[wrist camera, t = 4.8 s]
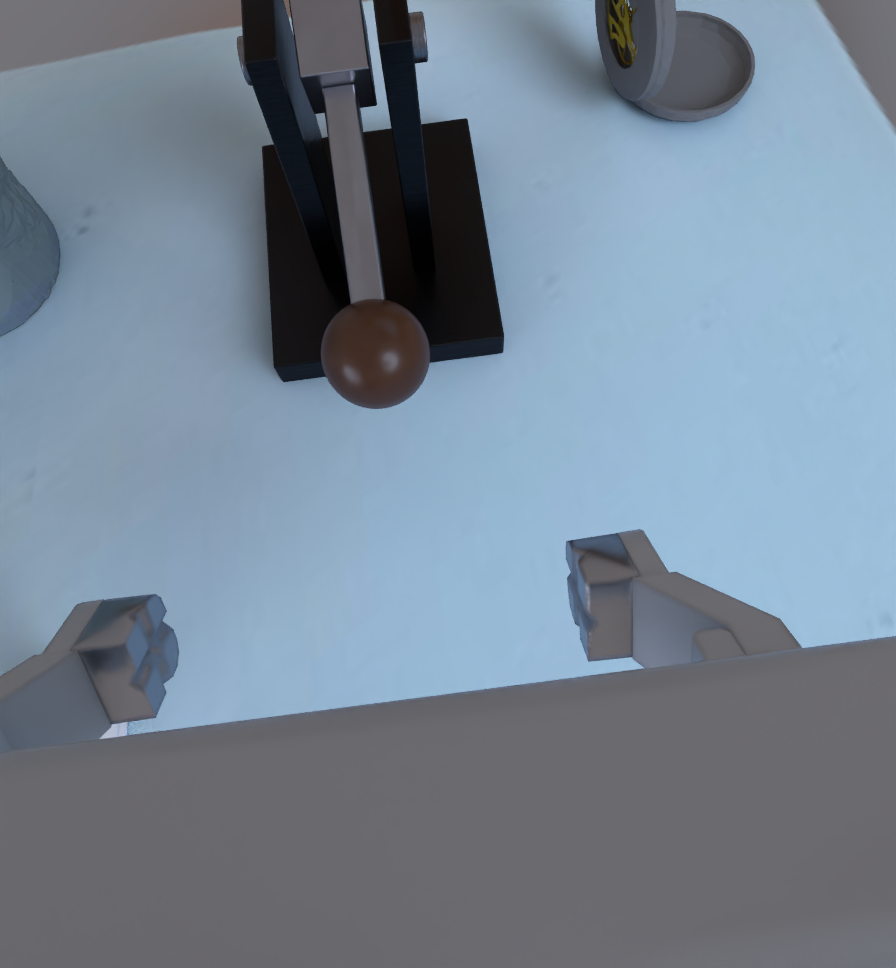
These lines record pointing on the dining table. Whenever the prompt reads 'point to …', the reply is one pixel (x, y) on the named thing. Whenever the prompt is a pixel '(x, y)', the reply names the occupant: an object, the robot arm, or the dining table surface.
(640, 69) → the pocket watch
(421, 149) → the black lever stand
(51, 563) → the dining table surface
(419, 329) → the tap lever
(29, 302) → the grey embossed pot
